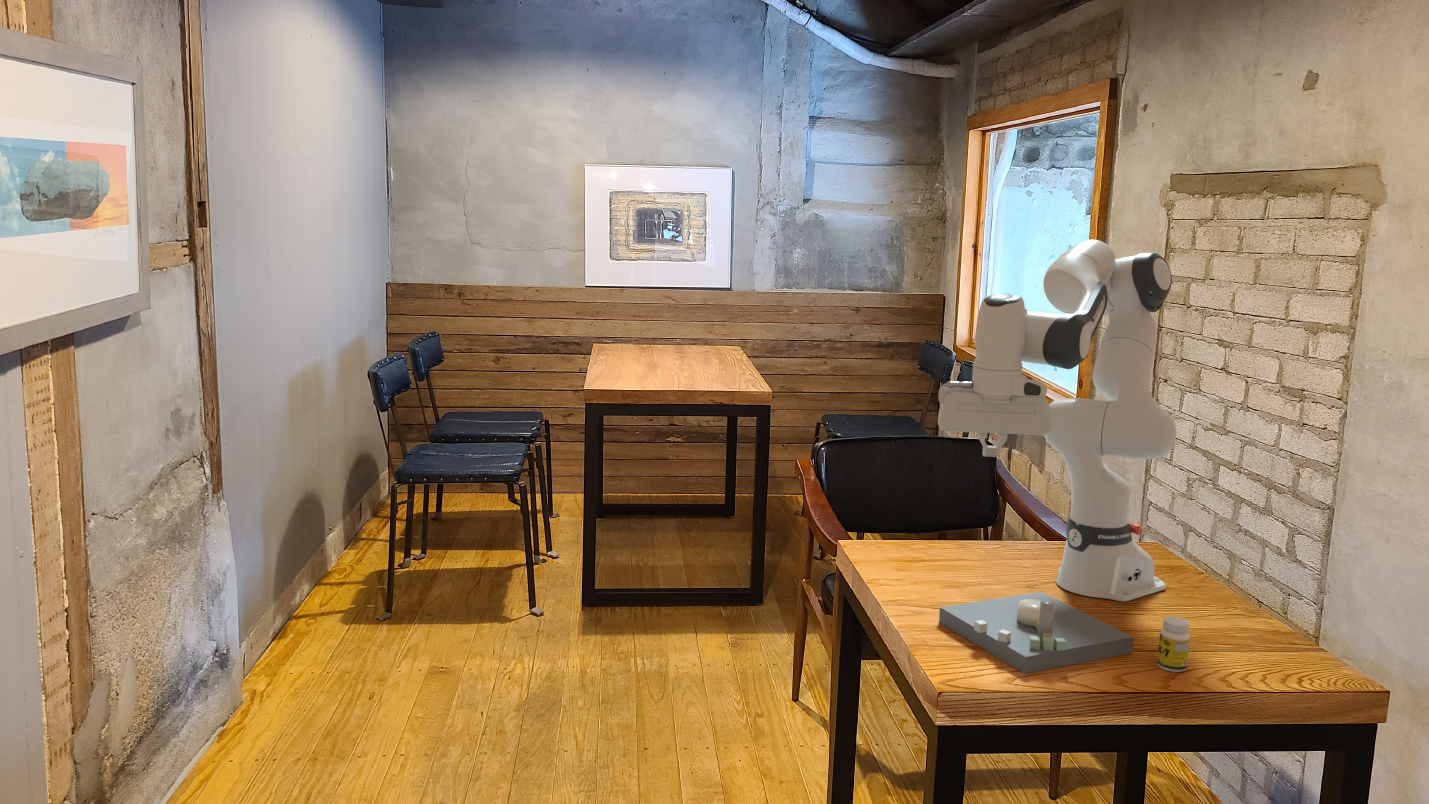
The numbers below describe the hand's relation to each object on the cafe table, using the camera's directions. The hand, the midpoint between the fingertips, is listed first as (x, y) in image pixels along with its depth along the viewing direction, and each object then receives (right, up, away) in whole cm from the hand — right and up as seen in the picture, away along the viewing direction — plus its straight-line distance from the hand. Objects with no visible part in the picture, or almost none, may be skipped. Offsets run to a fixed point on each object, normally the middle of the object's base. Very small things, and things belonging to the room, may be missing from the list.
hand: (990, 456), depth 204 cm
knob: (+6, -30, -9) cm, 32 cm away
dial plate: (+6, -33, -5) cm, 34 cm away
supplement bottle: (+27, -36, -16) cm, 47 cm away
